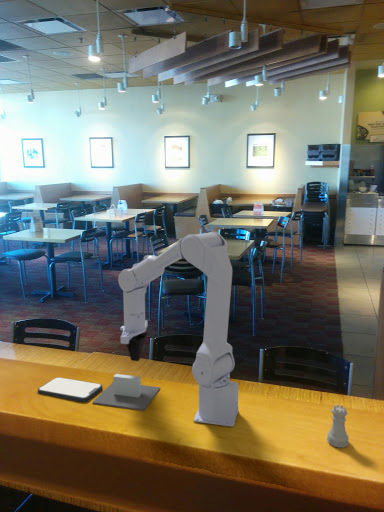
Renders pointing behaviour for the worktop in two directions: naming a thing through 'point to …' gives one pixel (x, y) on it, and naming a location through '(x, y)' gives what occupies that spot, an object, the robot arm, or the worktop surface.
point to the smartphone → (70, 389)
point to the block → (127, 385)
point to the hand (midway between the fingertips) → (135, 359)
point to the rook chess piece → (338, 428)
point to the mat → (127, 398)
